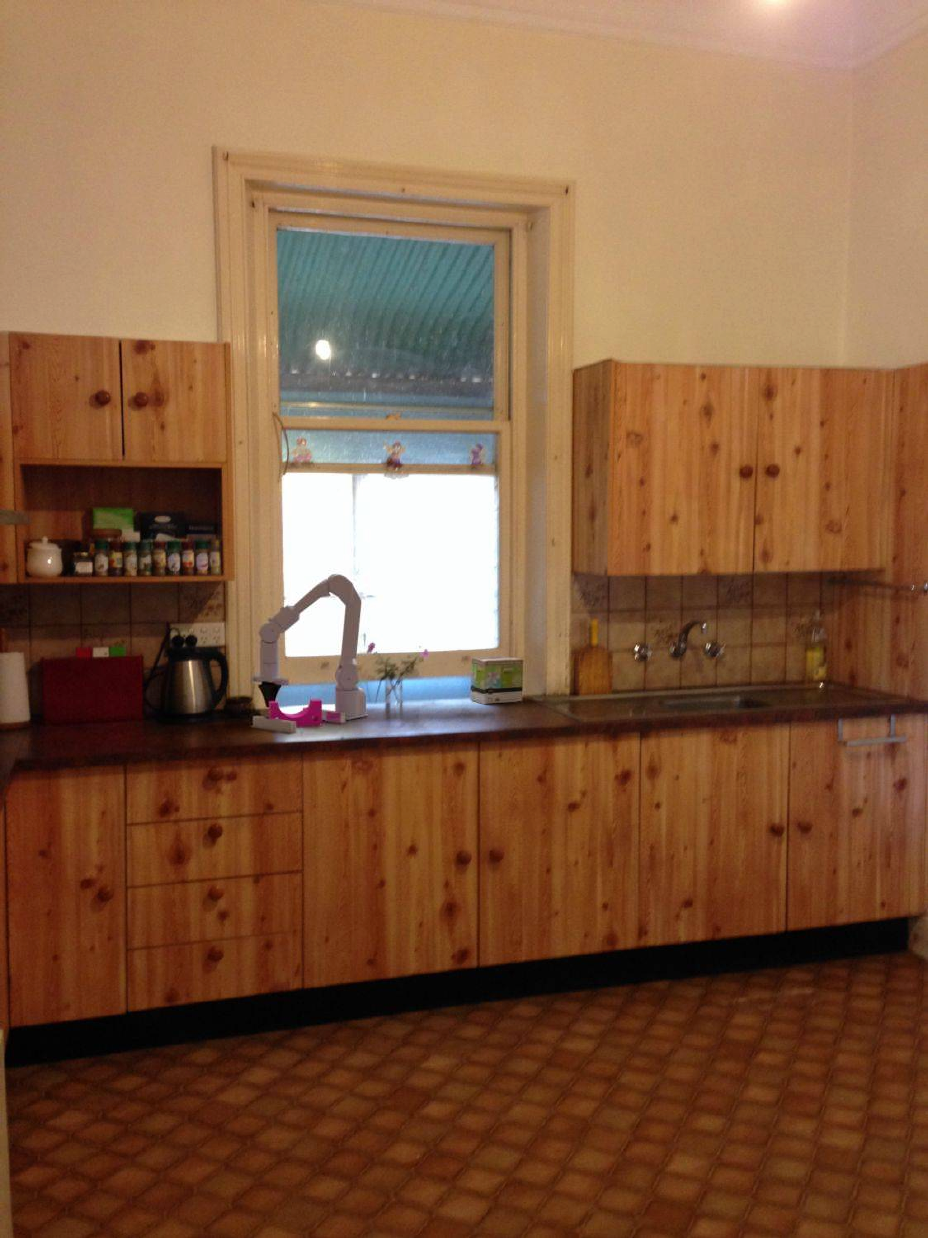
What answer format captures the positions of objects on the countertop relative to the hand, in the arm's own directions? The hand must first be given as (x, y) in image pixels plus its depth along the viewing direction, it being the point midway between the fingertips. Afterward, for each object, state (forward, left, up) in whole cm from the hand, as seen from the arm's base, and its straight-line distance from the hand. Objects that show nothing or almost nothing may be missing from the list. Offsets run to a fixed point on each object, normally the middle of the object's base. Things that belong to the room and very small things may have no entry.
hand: (270, 707), depth 329 cm
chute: (0, +13, -4) cm, 13 cm away
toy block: (+1, +12, -4) cm, 12 cm away
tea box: (-73, +32, -4) cm, 80 cm away
